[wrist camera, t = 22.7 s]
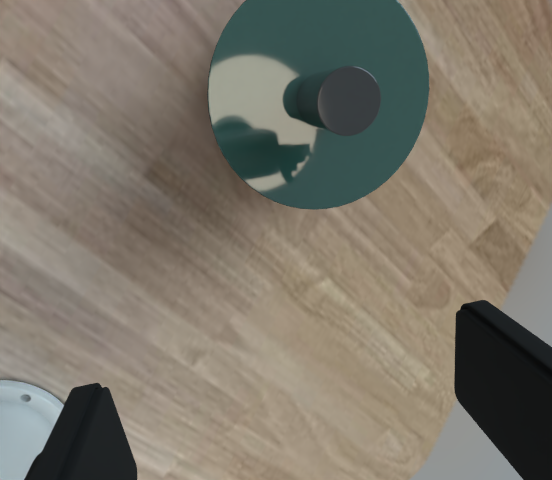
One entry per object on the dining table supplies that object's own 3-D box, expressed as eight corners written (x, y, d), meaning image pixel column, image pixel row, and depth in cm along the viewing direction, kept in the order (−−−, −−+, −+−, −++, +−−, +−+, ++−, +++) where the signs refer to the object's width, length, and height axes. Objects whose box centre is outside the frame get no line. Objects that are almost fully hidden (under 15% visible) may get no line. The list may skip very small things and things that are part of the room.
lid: (209, 204, 25) (207, 237, 19) (205, -37, 20) (201, -89, 15) (402, 205, 27) (453, 235, 21) (436, -16, 22) (513, -54, 17)
